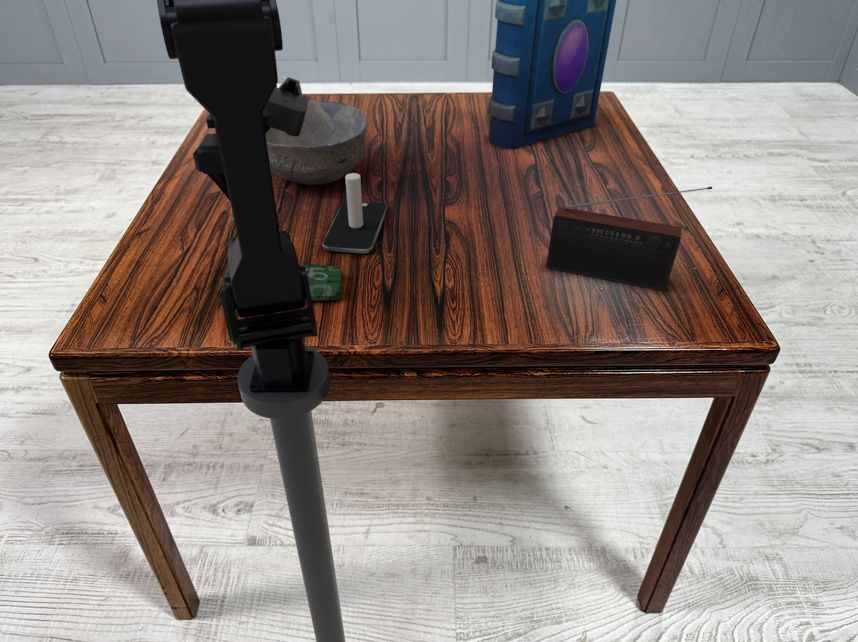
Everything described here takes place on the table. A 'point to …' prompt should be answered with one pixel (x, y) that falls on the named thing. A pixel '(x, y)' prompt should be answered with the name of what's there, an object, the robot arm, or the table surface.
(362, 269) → the table surface
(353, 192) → the white cylinder
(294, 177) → the bowl
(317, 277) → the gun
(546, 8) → the book
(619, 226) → the radio
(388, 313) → the table surface
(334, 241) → the smartphone
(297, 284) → the robot arm
